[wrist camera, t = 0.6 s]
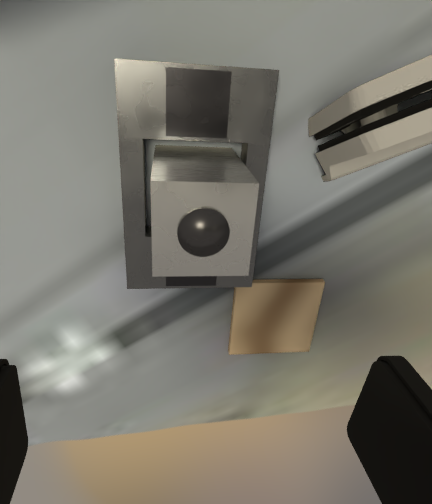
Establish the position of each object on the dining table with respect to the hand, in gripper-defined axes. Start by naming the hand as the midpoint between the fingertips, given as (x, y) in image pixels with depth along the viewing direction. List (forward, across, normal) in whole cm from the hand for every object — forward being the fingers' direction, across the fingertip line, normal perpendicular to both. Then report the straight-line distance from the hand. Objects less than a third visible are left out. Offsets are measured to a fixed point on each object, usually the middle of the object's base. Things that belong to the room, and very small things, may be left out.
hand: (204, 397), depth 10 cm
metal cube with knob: (+20, -1, 0) cm, 20 cm away
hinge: (+20, -17, -8) cm, 28 cm away
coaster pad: (+20, -10, +12) cm, 25 cm away
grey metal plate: (+20, -1, 0) cm, 20 cm away
